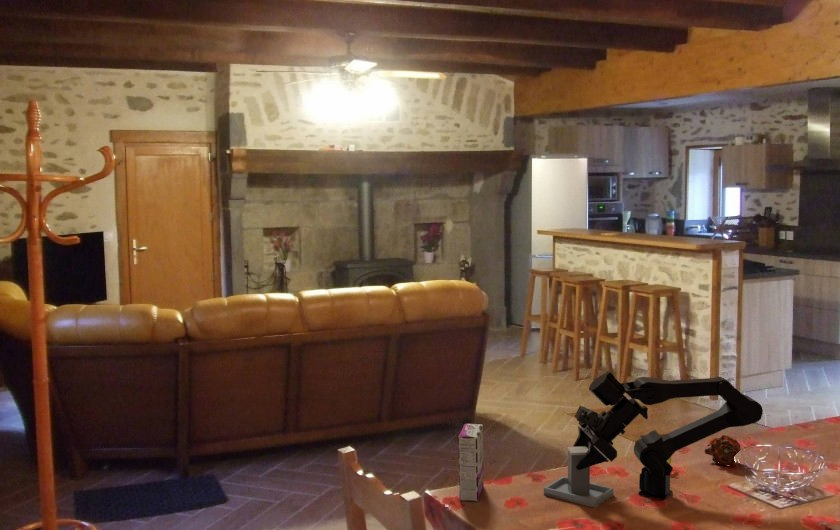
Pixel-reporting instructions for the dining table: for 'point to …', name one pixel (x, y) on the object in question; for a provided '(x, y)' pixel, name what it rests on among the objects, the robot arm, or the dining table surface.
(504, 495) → the dining table surface
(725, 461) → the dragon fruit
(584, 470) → the grey tall block
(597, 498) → the tray
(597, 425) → the robot arm
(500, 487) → the dining table surface
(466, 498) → the candy bar box
